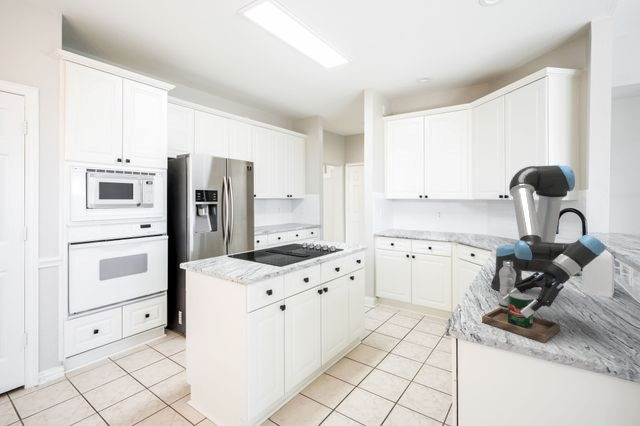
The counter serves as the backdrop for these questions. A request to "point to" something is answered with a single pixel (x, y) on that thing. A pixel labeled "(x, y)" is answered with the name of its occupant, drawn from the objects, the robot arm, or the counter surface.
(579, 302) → the counter surface
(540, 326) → the walnut tray
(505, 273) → the plastic bottle
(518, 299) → the canned tomato
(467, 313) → the counter surface
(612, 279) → the milk
